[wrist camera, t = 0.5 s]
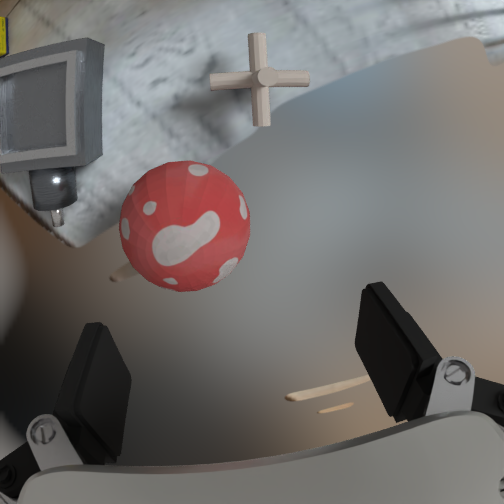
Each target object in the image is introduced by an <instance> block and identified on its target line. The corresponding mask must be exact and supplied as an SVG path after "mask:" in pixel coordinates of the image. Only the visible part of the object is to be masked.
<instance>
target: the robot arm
mask: <svg viewBox="0 0 504 504" xmlns="http://www.w3.org/2000/svg"><path fill="white" fill-rule="evenodd" d="M355 347H356V350H357V352H358V354H359V356H360V358H361V360H362V362H363V364H364V366H365V368H366V370H367V372H368V374H369V376H370V378H371V380H372V382H373V384H374V386H375V388H376V391H377V393H378V395H379V397H380V399H381V401H382V403H383V405H384V407H385V409H386V411H387V413H388V415H389V416H390V417H391V416H393V417H394V419H395V421H396V423H397V422H400V421H403V420H406V419H407V421H408V422H405V423H402V424H399V425H396V426H393V427H390V428H387V429H384V430H381V431H377V432H374V433H371V434H367V435H364V436H360V437H357V438H354V439H350V440H346V441H343V442H339V443H335V444H331V445H327V446H322V447H318V448H313V449H309V450H304V451H299V452H294V453H289V454H283V455H278V456H272V457H265V458H259V459H252V460H244V461H236V462H227V463H217V464H203V465H187V466H110V465H104V464H105V463H116V460H117V456H120V454H121V449H122V441H123V434H124V426H125V418H126V413H127V406H128V399H129V393H130V388H131V375H130V373H129V370H128V369H127V367H126V365H125V363H124V361H123V359H122V357H121V355H120V353H119V351H118V348H117V346H116V344H115V342H114V340H113V338H112V336H111V334H110V331H109V329H108V327H107V326H103V324H102V323H100V322H96V323H87V324H86V325H85V327H84V329H83V332H82V334H81V336H80V339H79V342H78V344H77V347H76V350H75V352H74V355H73V358H72V360H71V362H70V364H69V367H68V370H67V372H66V375H65V378H64V381H63V384H62V387H61V390H60V393H59V396H58V399H57V402H56V406H55V409H54V412H53V415H48V414H46V415H41V416H38V417H36V418H35V419H34V420H33V421H32V422H31V423H30V425H29V427H28V429H27V440H28V441H27V442H26V443H25V444H23V445H22V446H20V447H19V448H17V449H16V450H15V451H13V452H12V453H10V454H9V455H7V456H6V457H5V458H3V459H2V460H0V504H504V385H502V384H499V383H496V382H492V381H489V380H485V379H482V378H479V377H475V371H474V369H473V367H472V365H471V364H470V363H469V362H468V361H466V360H465V359H463V358H460V357H454V356H452V357H447V358H445V359H442V358H441V356H440V355H439V353H438V352H437V351H436V349H435V348H434V346H433V345H432V344H431V342H430V341H429V340H428V338H427V337H426V335H425V334H424V333H423V331H422V330H421V328H420V327H419V326H418V324H417V323H416V322H415V321H414V319H413V318H412V316H411V315H410V314H409V313H408V312H406V311H405V310H404V309H403V307H402V306H401V305H400V303H399V302H398V301H397V299H396V298H395V297H394V295H393V294H392V293H391V292H390V290H389V289H388V288H387V287H386V285H385V284H384V283H383V282H376V283H371V284H368V285H367V286H366V289H363V290H362V294H361V302H360V310H359V318H358V325H357V331H356V338H355Z"/></svg>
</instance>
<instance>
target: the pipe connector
mask: <svg viewBox="0 0 504 504" xmlns="http://www.w3.org/2000/svg"><path fill="white" fill-rule="evenodd" d="M248 47H249V63H250V71H243V72H227V73H214V74H210V87H211V91H214V90H226V89H240V88H251V98H252V116H253V126H270V103H269V87H308V86H309V83H310V76H309V72H308V71H301V70H275V69H274V68H272V67H268V64H267V47H266V34H265V33H250V34H248Z"/></svg>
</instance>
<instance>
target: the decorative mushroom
mask: <svg viewBox="0 0 504 504" xmlns="http://www.w3.org/2000/svg"><path fill="white" fill-rule="evenodd" d="M119 231H120V237H121V241H122V247H123V249H124V252H125V254H126V255H127V257H128V259H129V261H130V263H131V264H132V266H133V267H134V268H135V269H136V270H137V271H138V272H139V273H140V274H141V275H142V276H143V277H144V278H145V279H146V280H148V281H149V282H152V283H153V284H155V285H157V286H159V287H161V288H164V289H169V290H173V291H178V292H185V291H197V290H200V289H203V288H206V287H209V286H212V285H214V284H216V283H218V282H219V281H220V280H222V279H223V278H225V277H226V276H227V275H229V274H230V273H231V272H232V270H233V269H234V268H235V266H236V265H237V264H238V262H239V261H240V260H241V258H242V257H243V255H244V252H245V249H246V246H247V243H248V240H249V237H250V213H249V209H248V206H247V204H246V201H245V198H244V196H243V193H242V192H241V190H240V189H239V188H238V187H237V186H236V184H235V183H234V182H233V181H232V180H231V179H230V177H228V176H227V175H225V174H224V173H222V172H221V171H219V170H217V169H216V168H214V167H213V166H210V165H206V164H202V163H198V162H194V161H178V162H168V163H165V164H163V165H161V166H158V167H156V168H154V169H151V170H149V171H148V172H147V173H145V174H144V175H143V176H142V177H141V178H140V179H139V180H138V181H137V182H136V183H134V184H133V186H132V188H131V190H130V191H129V193H128V195H127V197H126V199H125V201H124V203H123V205H122V210H121V216H120V223H119Z"/></svg>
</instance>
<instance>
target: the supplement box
mask: <svg viewBox="0 0 504 504" xmlns="http://www.w3.org/2000/svg"><path fill="white" fill-rule="evenodd" d="M8 53H9V46H8V18H5V17H1V16H0V58H1V57H3V56H5V55H7V54H8Z"/></svg>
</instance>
